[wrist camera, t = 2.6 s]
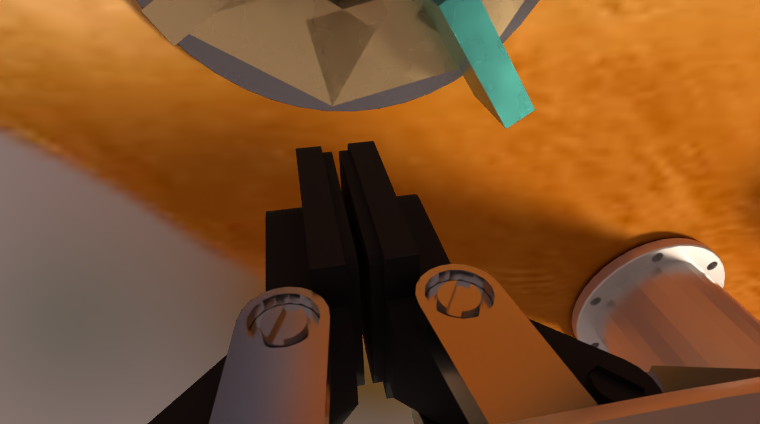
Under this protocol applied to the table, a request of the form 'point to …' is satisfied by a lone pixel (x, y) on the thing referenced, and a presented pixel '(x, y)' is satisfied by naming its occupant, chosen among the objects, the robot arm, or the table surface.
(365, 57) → the wooden castle nut
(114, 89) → the table surface
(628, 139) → the table surface
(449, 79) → the hub
